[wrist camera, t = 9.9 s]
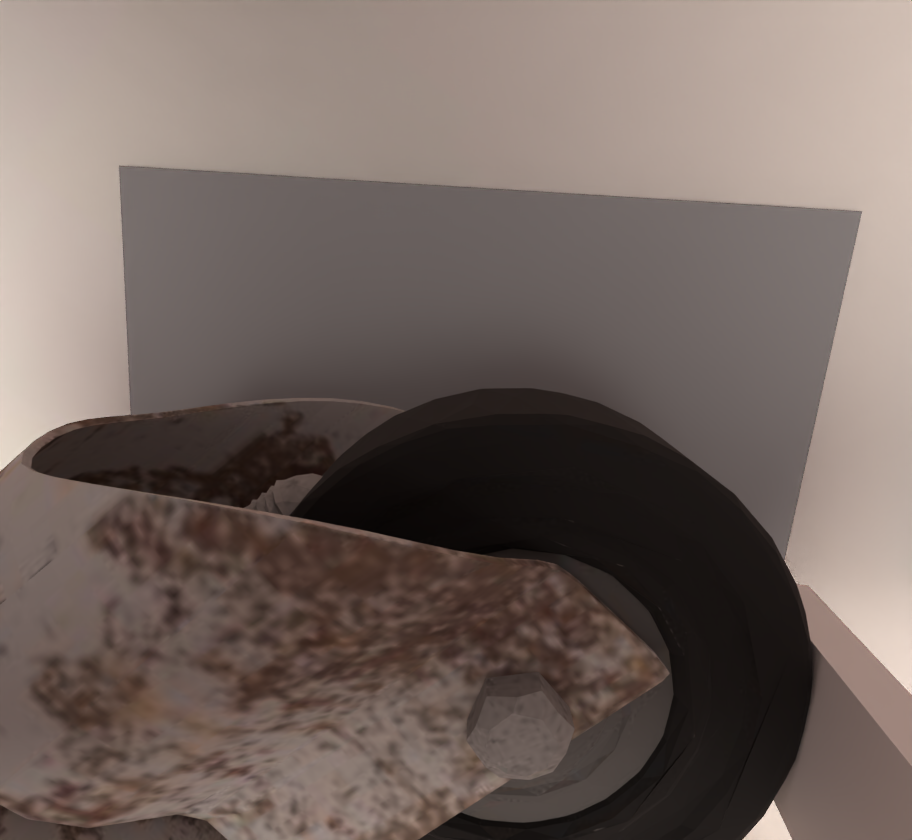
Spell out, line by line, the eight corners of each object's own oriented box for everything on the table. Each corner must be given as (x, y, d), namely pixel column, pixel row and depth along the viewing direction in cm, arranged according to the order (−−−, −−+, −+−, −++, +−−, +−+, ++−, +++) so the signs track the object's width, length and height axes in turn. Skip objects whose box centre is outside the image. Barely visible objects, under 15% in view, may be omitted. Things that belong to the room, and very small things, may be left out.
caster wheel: (767, 589, 13) (413, 820, 14) (441, 156, 11) (80, 469, 12) (1091, 907, 6) (360, 1278, 7) (397, -60, 4) (-359, 660, 6)
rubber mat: (122, 166, 13) (119, 165, 13) (859, 212, 12) (861, 211, 11) (146, 692, 16) (144, 694, 16) (730, 790, 15) (732, 794, 15)
